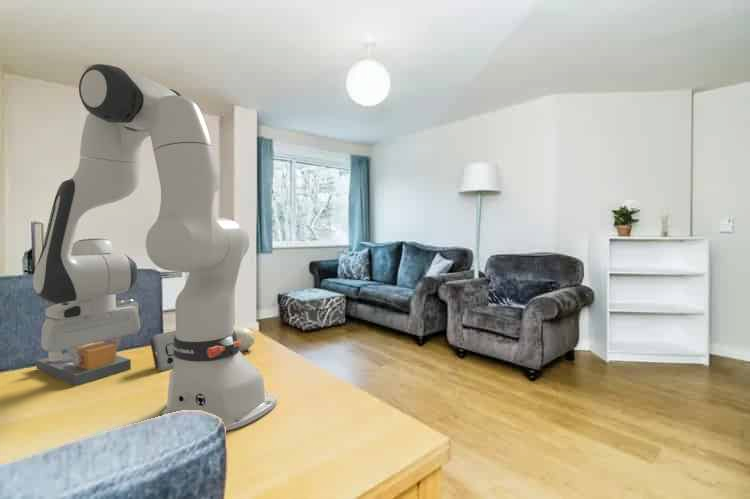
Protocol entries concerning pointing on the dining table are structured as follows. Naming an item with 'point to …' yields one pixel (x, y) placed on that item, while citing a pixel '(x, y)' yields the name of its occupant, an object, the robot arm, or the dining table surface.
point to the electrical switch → (163, 350)
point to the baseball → (245, 338)
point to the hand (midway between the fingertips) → (95, 359)
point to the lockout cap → (97, 355)
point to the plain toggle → (55, 356)
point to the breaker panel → (81, 369)
